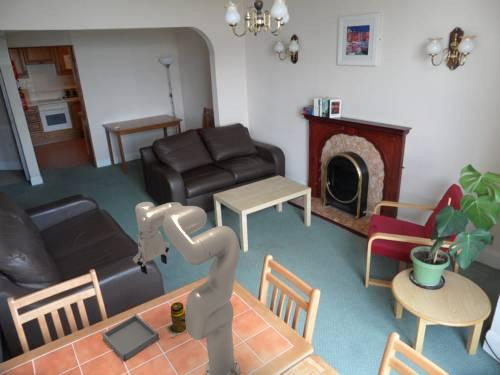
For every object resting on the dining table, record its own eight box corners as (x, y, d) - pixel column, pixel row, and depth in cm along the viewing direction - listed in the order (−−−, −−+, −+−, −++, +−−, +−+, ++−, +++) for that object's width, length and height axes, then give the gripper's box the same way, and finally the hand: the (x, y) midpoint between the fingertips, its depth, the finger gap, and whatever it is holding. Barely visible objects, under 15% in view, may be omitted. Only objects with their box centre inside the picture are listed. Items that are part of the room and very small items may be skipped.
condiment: (190, 329, 161) (187, 306, 157) (172, 337, 157) (168, 315, 152) (183, 320, 167) (180, 298, 162) (165, 328, 163) (162, 305, 158)
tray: (159, 338, 156) (158, 333, 155) (124, 361, 146) (123, 355, 145) (137, 319, 168) (135, 314, 167) (103, 339, 158) (102, 333, 157)
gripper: (134, 243, 143) (141, 280, 149) (171, 226, 154) (176, 262, 160) (124, 237, 148) (131, 273, 154) (161, 221, 159) (166, 256, 165)
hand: (154, 267), depth 157 cm, fingers open, 9 cm apart
